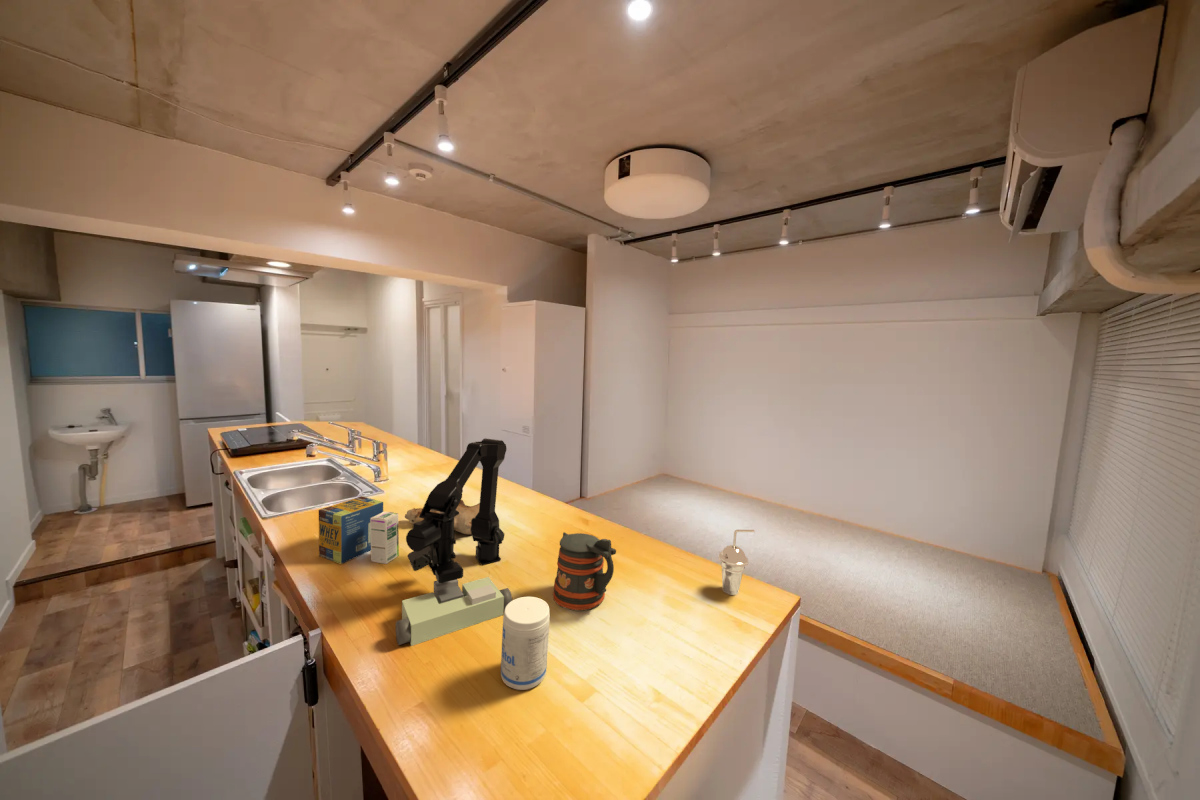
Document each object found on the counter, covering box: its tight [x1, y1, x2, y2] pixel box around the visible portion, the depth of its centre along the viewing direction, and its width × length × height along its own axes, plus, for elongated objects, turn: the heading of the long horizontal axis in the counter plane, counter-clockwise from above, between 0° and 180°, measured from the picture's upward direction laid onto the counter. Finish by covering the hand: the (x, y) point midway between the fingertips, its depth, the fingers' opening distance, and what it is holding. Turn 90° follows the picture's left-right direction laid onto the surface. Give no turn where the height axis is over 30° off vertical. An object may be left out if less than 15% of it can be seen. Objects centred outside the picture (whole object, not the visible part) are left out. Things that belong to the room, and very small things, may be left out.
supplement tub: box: [500, 596, 551, 691], centre depth 85 cm, size 10×10×15 cm
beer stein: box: [552, 532, 617, 611], centre depth 113 cm, size 19×15×20 cm
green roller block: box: [395, 576, 513, 647], centre depth 103 cm, size 27×11×6 cm, turn 126°
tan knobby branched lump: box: [404, 489, 480, 535], centre depth 155 cm, size 13×31×25 cm
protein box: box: [318, 495, 384, 565], centre depth 133 cm, size 10×15×16 cm
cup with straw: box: [717, 529, 756, 596], centre depth 121 cm, size 8×9×20 cm
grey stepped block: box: [433, 579, 464, 604], centre depth 106 cm, size 6×8×6 cm
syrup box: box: [370, 511, 400, 565], centre depth 129 cm, size 6×6×14 cm
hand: (441, 590), depth 112 cm, fingers closed
